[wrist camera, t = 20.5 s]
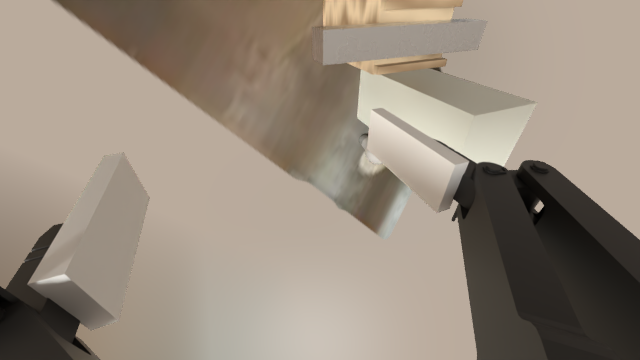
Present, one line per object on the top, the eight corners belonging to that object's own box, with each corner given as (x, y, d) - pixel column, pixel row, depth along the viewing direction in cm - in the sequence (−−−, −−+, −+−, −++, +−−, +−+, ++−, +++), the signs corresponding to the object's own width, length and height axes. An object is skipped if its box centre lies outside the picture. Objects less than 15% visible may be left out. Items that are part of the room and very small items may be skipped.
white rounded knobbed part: (368, 122, 64) (393, 141, 55) (374, 140, 68) (398, 160, 59) (348, 135, 63) (370, 156, 55) (355, 152, 68) (377, 173, 59)
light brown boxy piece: (323, -4, 44) (387, -4, 29) (380, -5, 47) (464, -6, 32) (323, 52, 49) (377, 76, 34) (374, 47, 53) (444, 68, 38)
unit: (361, 66, 54) (474, 115, 32) (406, 61, 57) (537, 102, 35) (356, 119, 62) (445, 190, 39) (396, 112, 65) (499, 173, 43)
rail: (312, 26, 29) (323, 29, 26) (466, 18, 36) (487, 20, 33) (312, 59, 31) (323, 65, 28) (458, 45, 38) (477, 49, 35)
